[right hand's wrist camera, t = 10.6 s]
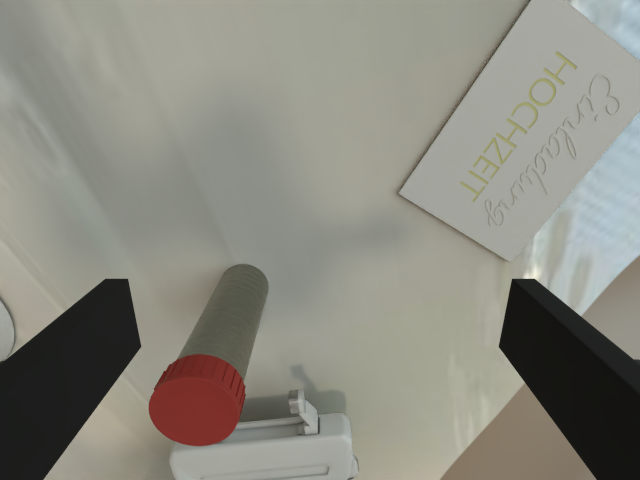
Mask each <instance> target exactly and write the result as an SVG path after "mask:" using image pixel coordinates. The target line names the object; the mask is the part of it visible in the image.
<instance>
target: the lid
mask: <svg viewBox="0 0 640 480" xmlns="http://www.w3.org/2000/svg"><path fill="white" fill-rule="evenodd" d="M242 379H243V378H242V377H241V376H240V374H239V373H238V371H237V370H236V369H235V368H234V367H233V366H232V365H230V364H229V363H228V362H226V361H224V360H222V359H220V358H218V357H215V356H211V355H205V354H195V355H187V356H185V357H182V358H180V359H177V360H176V361H175V362H173V363H172V364H170V365H169V366H168V368H167V370H166V371H164V372H163V374H162V376H161V378H160V379H159V381H158V383H157V385H156V386H155V388H154V390H155V391H154V392H153V394H152V396H151V399H150V402H149V414H150V417H151V420H152V422H153V424H154V425H155V426H156V428H157V429H158V430H159V431H160V432H161V433H162V434H163V435H165V436H166V437H168V438H169V439H171V440H173V441H176V442H178V443H181V444H185V445H189V446H208V445H212V444H216V443H218V442H221V441H222V440H224V439H226V438H227V437H228V436H229V435H230V434H231V433H232V432H233V431H234V429H235V428H236V426H237V423H238V422H239V418H240V414H241V412H242V408H243V403H244V399H245V395H246V394H245V386H244V382H243V380H242Z"/></svg>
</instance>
